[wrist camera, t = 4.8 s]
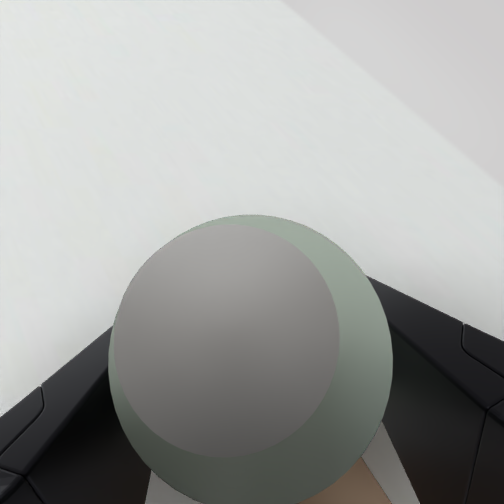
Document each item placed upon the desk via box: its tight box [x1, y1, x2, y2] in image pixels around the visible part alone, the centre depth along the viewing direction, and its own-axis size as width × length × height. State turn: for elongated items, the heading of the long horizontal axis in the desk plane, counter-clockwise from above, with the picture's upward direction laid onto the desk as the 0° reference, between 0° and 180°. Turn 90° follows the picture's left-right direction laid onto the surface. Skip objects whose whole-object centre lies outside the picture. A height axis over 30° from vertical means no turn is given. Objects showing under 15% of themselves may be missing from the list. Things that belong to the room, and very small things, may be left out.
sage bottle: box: [108, 215, 393, 504], centre depth 9 cm, size 4×4×12 cm
